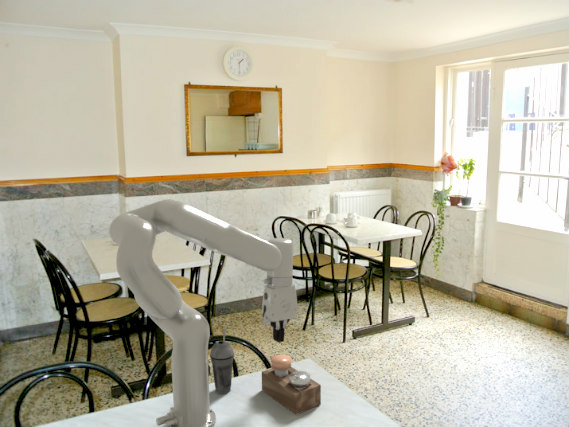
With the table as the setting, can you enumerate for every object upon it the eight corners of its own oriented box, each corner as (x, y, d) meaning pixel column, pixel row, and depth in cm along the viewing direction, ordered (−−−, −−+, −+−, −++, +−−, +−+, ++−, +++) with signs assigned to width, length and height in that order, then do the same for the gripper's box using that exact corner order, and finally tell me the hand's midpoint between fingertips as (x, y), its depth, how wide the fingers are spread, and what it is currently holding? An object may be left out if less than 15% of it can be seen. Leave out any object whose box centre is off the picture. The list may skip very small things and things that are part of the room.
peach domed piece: (279, 389, 145) (278, 365, 144) (267, 381, 150) (267, 358, 149) (295, 383, 149) (295, 359, 148) (283, 375, 154) (283, 352, 152)
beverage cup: (208, 387, 152) (205, 325, 149) (230, 382, 155) (228, 321, 152) (215, 398, 146) (212, 334, 143) (238, 393, 149) (236, 330, 146)
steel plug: (297, 408, 138) (297, 383, 137) (285, 399, 143) (284, 374, 142) (314, 401, 142) (314, 376, 141) (301, 392, 147) (301, 369, 146)
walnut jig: (295, 414, 137) (295, 394, 136) (261, 390, 150) (261, 371, 150) (320, 404, 142) (320, 384, 141) (285, 381, 156) (285, 363, 155)
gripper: (265, 287, 137) (264, 350, 140) (307, 279, 146) (306, 339, 148) (251, 281, 143) (250, 342, 146) (292, 274, 152) (291, 331, 154)
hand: (278, 340), depth 147 cm, fingers closed
